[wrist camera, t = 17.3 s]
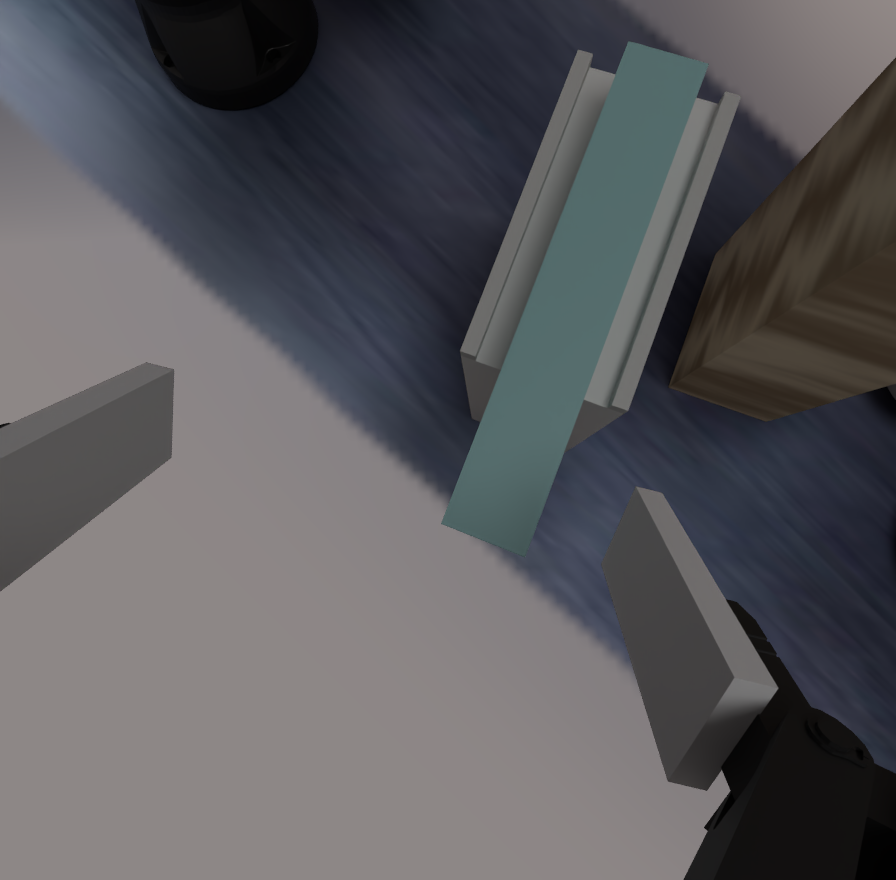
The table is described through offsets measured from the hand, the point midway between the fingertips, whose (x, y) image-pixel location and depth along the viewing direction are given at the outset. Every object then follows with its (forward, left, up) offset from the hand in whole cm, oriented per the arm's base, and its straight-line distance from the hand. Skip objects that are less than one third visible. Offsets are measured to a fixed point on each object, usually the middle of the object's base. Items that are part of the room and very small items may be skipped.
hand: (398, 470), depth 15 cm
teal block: (-8, +6, -10) cm, 14 cm away
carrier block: (-12, +8, -29) cm, 32 cm away
